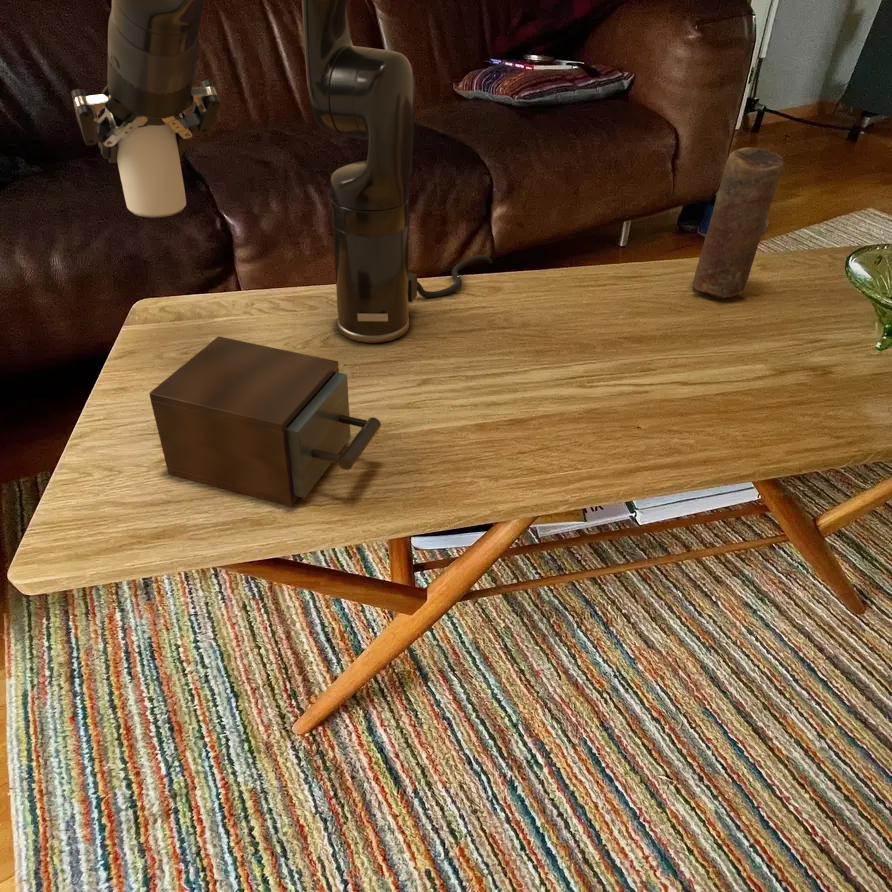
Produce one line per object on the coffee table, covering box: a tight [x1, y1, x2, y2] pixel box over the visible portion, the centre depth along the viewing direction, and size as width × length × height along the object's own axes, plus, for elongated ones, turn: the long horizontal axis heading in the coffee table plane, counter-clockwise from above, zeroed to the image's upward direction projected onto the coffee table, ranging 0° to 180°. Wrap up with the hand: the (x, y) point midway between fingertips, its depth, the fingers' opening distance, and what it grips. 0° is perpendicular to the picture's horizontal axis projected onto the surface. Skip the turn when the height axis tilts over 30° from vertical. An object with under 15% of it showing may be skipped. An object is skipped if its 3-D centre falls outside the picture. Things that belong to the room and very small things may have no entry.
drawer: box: [287, 372, 382, 499], centre depth 74 cm, size 17×10×8 cm, turn 71°
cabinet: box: [148, 336, 340, 507], centre depth 75 cm, size 14×12×10 cm
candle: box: [692, 146, 785, 299], centre depth 107 cm, size 8×7×20 cm
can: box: [117, 124, 187, 218], centre depth 83 cm, size 6×6×12 cm
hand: (143, 151), depth 84 cm, fingers closed on can, 6 cm apart
